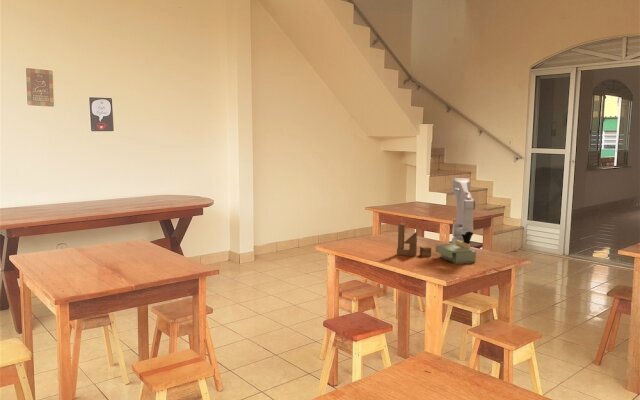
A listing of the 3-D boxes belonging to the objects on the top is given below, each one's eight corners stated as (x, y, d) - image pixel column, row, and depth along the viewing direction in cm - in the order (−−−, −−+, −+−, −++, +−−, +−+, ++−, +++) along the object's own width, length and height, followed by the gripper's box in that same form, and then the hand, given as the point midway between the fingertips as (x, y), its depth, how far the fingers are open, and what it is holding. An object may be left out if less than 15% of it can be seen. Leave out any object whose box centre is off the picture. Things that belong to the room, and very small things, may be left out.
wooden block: (415, 256, 301) (416, 225, 298) (396, 255, 305) (397, 224, 302) (416, 255, 304) (417, 224, 302) (398, 253, 308) (398, 223, 306)
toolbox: (440, 256, 301) (441, 246, 300) (459, 255, 304) (459, 245, 304) (456, 263, 286) (456, 252, 285) (475, 262, 289) (475, 251, 288)
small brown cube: (419, 255, 305) (420, 246, 304) (427, 254, 306) (427, 246, 305) (423, 256, 301) (423, 248, 300) (431, 256, 302) (431, 247, 302)
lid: (435, 251, 299) (435, 240, 299) (456, 250, 303) (456, 239, 302) (450, 257, 284) (450, 246, 283) (472, 256, 288) (472, 245, 287)
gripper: (465, 218, 302) (464, 242, 304) (456, 222, 290) (455, 246, 292) (477, 219, 298) (476, 243, 300) (468, 223, 286) (467, 248, 288)
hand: (466, 245), depth 295 cm, fingers closed
